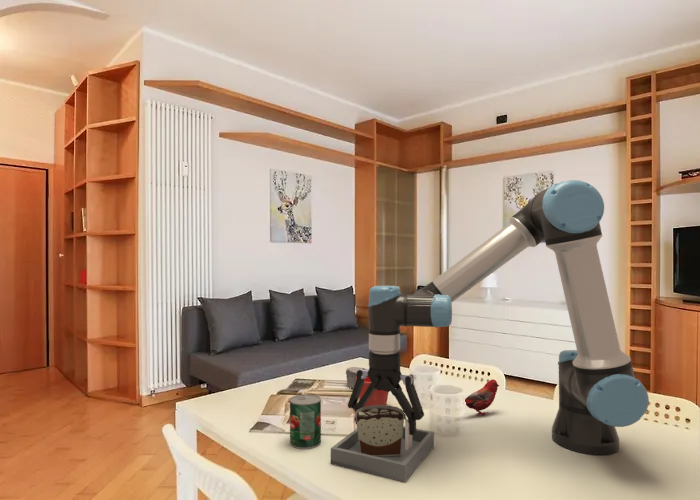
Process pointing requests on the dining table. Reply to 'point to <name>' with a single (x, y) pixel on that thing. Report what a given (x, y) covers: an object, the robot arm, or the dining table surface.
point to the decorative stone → (352, 375)
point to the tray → (384, 466)
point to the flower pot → (374, 395)
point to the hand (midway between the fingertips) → (384, 442)
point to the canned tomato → (305, 421)
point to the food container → (380, 430)
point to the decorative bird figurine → (482, 397)
